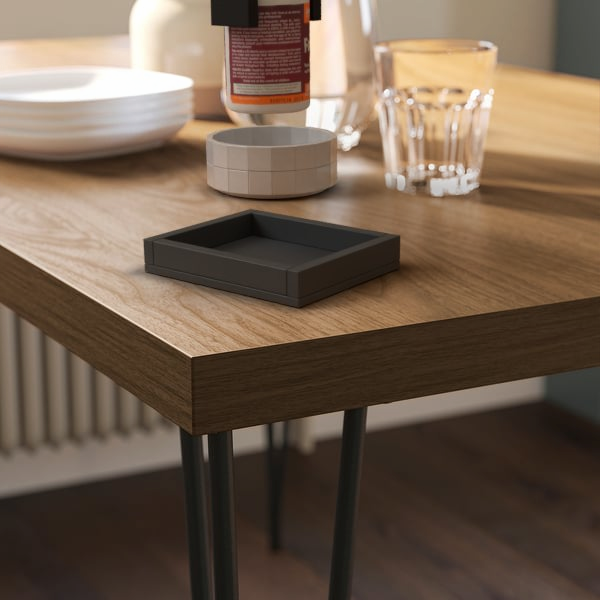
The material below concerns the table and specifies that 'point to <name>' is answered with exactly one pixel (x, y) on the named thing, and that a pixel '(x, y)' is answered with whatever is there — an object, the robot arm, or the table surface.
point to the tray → (273, 256)
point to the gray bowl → (271, 161)
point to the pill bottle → (270, 60)
